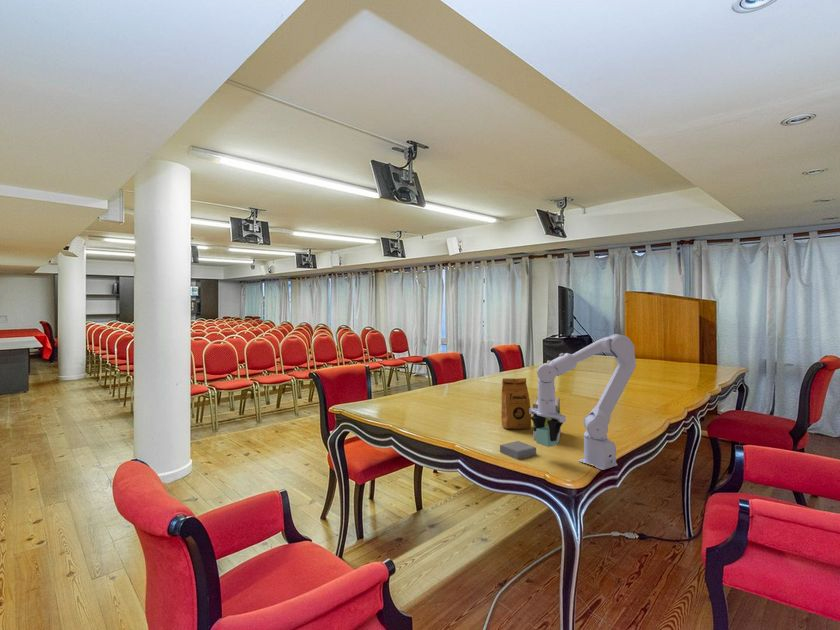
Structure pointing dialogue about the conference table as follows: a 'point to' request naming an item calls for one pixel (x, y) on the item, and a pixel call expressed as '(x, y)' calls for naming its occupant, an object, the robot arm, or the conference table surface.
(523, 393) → the coffee package
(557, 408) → the tea box
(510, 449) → the slate plinth
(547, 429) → the teal cube
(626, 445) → the conference table surface
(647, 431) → the conference table surface
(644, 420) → the conference table surface
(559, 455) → the conference table surface
